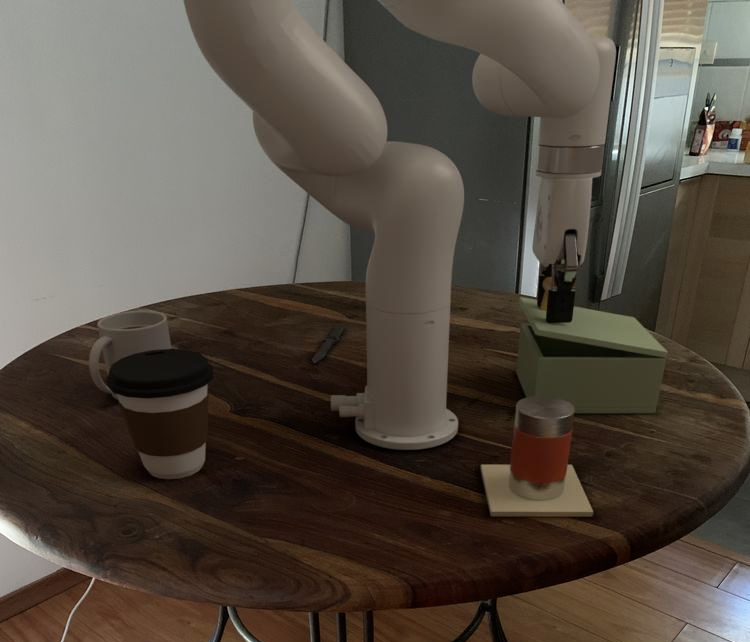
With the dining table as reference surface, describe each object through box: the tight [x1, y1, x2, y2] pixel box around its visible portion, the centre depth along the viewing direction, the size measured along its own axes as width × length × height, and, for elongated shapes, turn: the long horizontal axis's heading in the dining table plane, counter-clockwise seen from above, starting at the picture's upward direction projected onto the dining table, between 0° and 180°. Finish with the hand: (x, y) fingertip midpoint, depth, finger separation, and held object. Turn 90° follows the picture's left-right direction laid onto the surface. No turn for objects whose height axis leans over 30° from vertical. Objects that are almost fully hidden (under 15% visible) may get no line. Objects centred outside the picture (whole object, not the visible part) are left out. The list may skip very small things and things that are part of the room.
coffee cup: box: [105, 348, 214, 480], centre depth 79 cm, size 11×11×12 cm
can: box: [509, 396, 575, 501], centre depth 74 cm, size 6×6×9 cm
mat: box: [480, 464, 594, 518], centre depth 76 cm, size 10×10×1 cm
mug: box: [88, 310, 172, 401], centre depth 99 cm, size 11×10×10 cm
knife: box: [311, 323, 346, 364], centre depth 118 cm, size 18×1×3 cm
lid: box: [518, 277, 669, 359], centre depth 94 cm, size 16×15×5 cm
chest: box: [516, 323, 667, 414], centre depth 98 cm, size 16×15×7 cm
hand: (553, 312), depth 95 cm, fingers closed on lid, 6 cm apart
